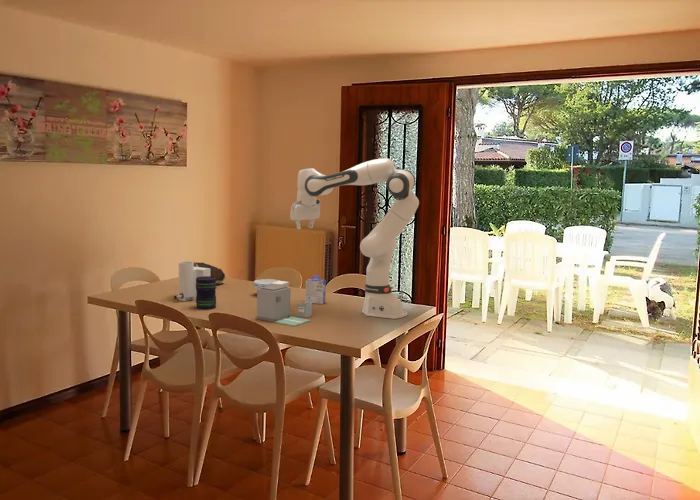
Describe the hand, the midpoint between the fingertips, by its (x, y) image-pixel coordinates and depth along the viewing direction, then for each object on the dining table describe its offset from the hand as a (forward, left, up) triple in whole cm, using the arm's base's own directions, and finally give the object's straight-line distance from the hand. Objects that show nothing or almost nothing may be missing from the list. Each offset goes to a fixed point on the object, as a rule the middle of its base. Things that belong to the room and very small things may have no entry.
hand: (304, 228), depth 298 cm
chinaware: (+34, -11, -40) cm, 54 cm away
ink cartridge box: (+2, -12, -40) cm, 42 cm away
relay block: (-11, +15, -40) cm, 44 cm away
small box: (+9, +9, -40) cm, 42 cm away
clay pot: (+79, -10, -40) cm, 89 cm away
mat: (-14, +28, -40) cm, 51 cm away
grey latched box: (-2, +27, -40) cm, 48 cm away
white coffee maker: (+59, +24, -40) cm, 75 cm away
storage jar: (+38, +31, -40) cm, 63 cm away
